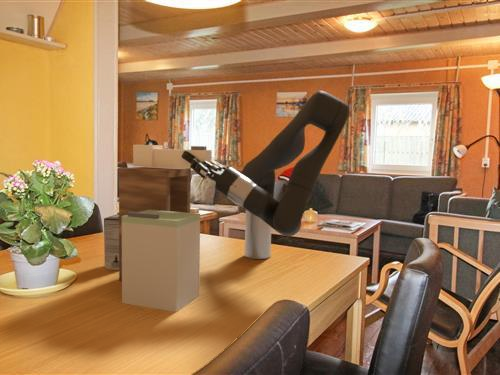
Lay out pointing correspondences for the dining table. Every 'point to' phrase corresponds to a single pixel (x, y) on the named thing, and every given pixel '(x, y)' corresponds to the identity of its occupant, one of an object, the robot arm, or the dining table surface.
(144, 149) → the stepped cream block
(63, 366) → the dining table surface
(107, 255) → the coffee box
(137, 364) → the dining table surface
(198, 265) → the green-lidded white box
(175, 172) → the walnut bridge
